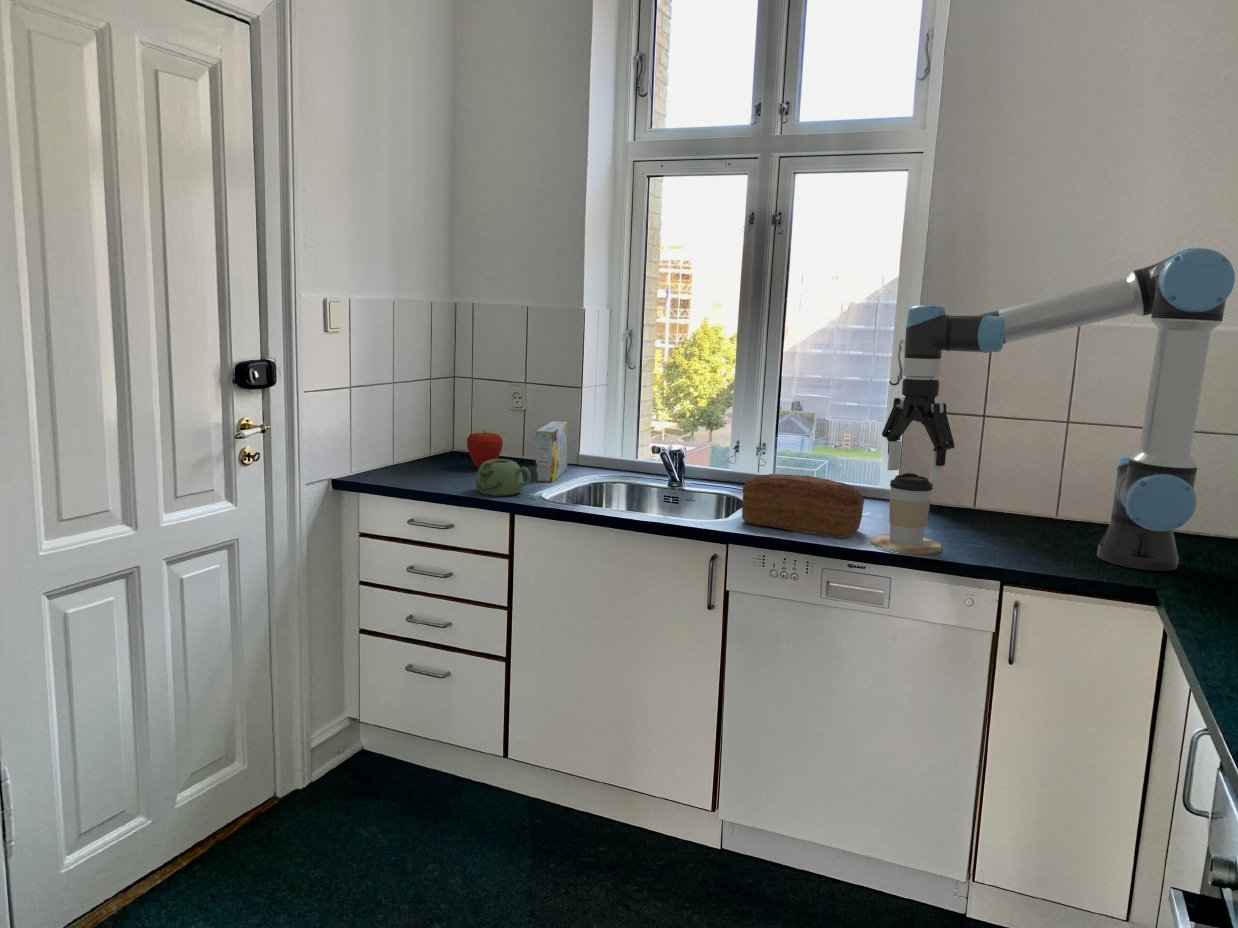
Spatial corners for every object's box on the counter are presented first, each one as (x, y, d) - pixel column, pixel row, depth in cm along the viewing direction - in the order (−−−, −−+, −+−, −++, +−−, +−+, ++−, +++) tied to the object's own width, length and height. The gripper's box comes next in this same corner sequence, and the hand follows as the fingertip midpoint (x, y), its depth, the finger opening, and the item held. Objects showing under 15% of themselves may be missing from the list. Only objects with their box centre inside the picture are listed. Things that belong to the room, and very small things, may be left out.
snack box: (550, 469, 274) (551, 420, 271) (567, 470, 273) (569, 421, 271) (534, 481, 253) (535, 429, 251) (553, 483, 253) (554, 430, 250)
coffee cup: (929, 548, 191) (936, 481, 188) (886, 545, 193) (892, 478, 190) (924, 538, 200) (930, 473, 197) (883, 535, 202) (888, 470, 199)
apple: (485, 473, 262) (485, 433, 260) (458, 469, 268) (458, 429, 266) (509, 468, 271) (510, 430, 269) (483, 464, 277) (483, 426, 275)
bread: (753, 514, 223) (756, 466, 220) (865, 531, 210) (870, 480, 208) (733, 525, 210) (736, 475, 208) (851, 543, 198) (856, 490, 195)
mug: (465, 493, 234) (465, 461, 233) (492, 485, 246) (493, 455, 244) (517, 501, 228) (517, 468, 226) (542, 492, 239) (543, 461, 238)
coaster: (956, 552, 192) (956, 548, 192) (900, 557, 187) (901, 553, 187) (909, 535, 206) (909, 531, 206) (856, 539, 200) (857, 535, 200)
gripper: (977, 382, 180) (969, 484, 184) (896, 374, 203) (890, 465, 206) (949, 382, 177) (940, 486, 181) (870, 374, 200) (864, 466, 203)
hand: (914, 475), depth 194 cm, fingers open, 13 cm apart
